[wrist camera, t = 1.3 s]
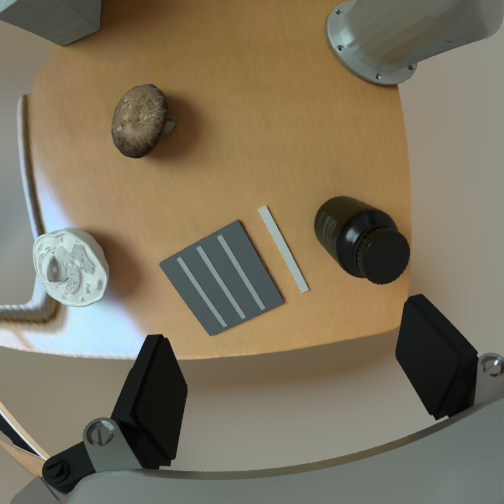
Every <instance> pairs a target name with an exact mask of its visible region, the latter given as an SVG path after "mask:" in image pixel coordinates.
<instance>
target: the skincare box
mask: <svg viewBox="0 0 504 504" xmlns="http://www.w3.org/2000/svg"><path fill="white" fill-rule="evenodd" d="M100 14H101V0H0V20H2V21H5V22H7V23H10V24H12V25H15V26H18V27H20V28H22V29H25V30H28V31H30V32H32V33H34V34H36V35H39V36H41V37H43V38H45V39H47V40H50V41H52V42H54V43H56V44H58V45H60V46H65V45H67V44H69V43H72V42H74V41H76V40H78V39H80V38H82V37H85V36H87V35H89V34H92V33H94V32H97V31H99V30H100Z"/></svg>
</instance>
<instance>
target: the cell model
mask: <svg viewBox="0 0 504 504" xmlns="http://www.w3.org/2000/svg"><path fill="white" fill-rule="evenodd" d="M33 260H34V266H35V271H36V273H37V275H38V277H39V279H40V281H41V283H42V285H43V287H44V289H45V290H46V292H47V293H48V294H49V295H50V296H51V297H53V298H54V299H56V300H58V301H59V302H61V303H62V304H64V305H67V306H73V307H86V306H89V305H91V304H93V303H95V302H97V301H100V300H101V299H102V298H103V296H104V295H105V293H106V290H107V284H108V279H109V266H108V263H107V261H106V259H105V255H104V252H103V249H102V248H101V246H100V245H99V244H98V243H97V242H96V240H95V239H94V238H93V237H92V236H91V235H90V234H88V233H87V232H85V231H82V230H79V229H76V228H64V229H61V230H57V231H54V232H52V233H48V234H43V235H41V236H39V237H38V238H37V240H36V241H35V243H34V246H33Z"/></svg>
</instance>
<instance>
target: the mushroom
mask: <svg viewBox="0 0 504 504" xmlns="http://www.w3.org/2000/svg"><path fill="white" fill-rule="evenodd" d="M167 113H168V104H167V101H166V99H165V96H164V94H163V92H162V91H161V90H160V89H158V88H157V87H156V86H154V85H152V84H146V85H141V86H137V87H134V88H132V89H131V90H130V91H128V92H127V93H126V94H125V95H124V96H123V97H122V98H121V100H120V101H119V103H118V105H117V107H116V109H115V113H114V117H113V122H112V137H113V141H114V144H115V146H116V147H117V148H118V150H119V151H120V152H121V153H122V154H123V155H124V156H127V157H131V158H141V157H143V156H145V155H147V154H149V153H150V152H151V150H152V149H153V148H154V147H155V146H156V144H157V143H158V141H159V139H160V137H164V136H165V135H167V134H169V133H170V132H171V130H172V129H173V128H174V127H175V125H176V122H177V117H176V116H174V115H167Z"/></svg>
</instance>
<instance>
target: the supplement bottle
mask: <svg viewBox="0 0 504 504" xmlns="http://www.w3.org/2000/svg"><path fill="white" fill-rule="evenodd" d="M314 230H315V234H316V237H317V239H318V241H319V242H320V243H321V245H322V246H323V247H324V248H325V249H326V250H327V252H328V253H329V254H330V255H331V256H332V257H333V258H334V260H335V261H336V262H337V263H338V264H339V265H340V266H341V268H342V269H343V270H344V271H346V272H347V273H348V274H350V275H352V276H354V277H357V278H367V279H368V280H369V281H371V282H372V283H376V284H377V285H378V284H381V285H383V284H388V283H391V282H392V281H395V280H396V279H397V278H398V277H400V275H401V274H402V273H403V271H404V270H405V269H406V266H407V265H408V261H409V256H410V252H409V251H410V248H409V244H408V243H407V240H406V239H405V237H404V236H403V235H402V234H401V233H400V232H398V228H397V226H396V224H395V222H394V221H393V219H392V218H391V217H390V216H389V215H388V214H386V213H385V212H383V211H381V210H379V209H377V208H375V207H372V206H370V205H368V204H365V203H363V202H361V201H358V200H356V199H353V198H351V197H347V196H338V197H334V198H331V199H330V200H328V201H326V202H325V203H324V204H323V205H322V206H321V207H320V209H319V210H318V212H317V214H316V217H315V222H314Z"/></svg>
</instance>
